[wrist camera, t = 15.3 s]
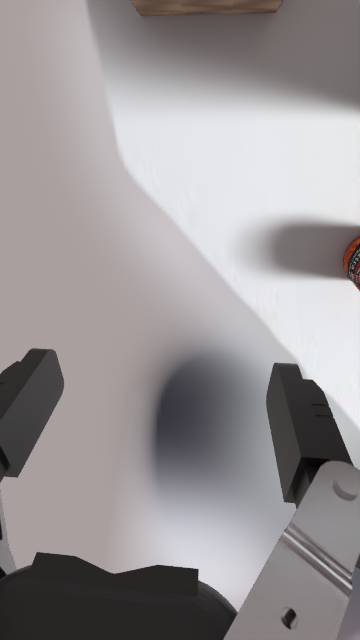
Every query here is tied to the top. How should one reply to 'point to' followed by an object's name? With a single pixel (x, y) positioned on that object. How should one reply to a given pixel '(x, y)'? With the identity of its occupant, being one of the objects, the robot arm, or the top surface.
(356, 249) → the canned food
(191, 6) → the hole block
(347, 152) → the top surface
